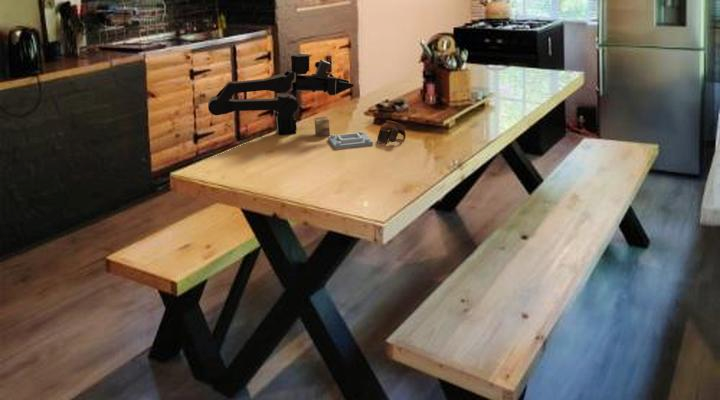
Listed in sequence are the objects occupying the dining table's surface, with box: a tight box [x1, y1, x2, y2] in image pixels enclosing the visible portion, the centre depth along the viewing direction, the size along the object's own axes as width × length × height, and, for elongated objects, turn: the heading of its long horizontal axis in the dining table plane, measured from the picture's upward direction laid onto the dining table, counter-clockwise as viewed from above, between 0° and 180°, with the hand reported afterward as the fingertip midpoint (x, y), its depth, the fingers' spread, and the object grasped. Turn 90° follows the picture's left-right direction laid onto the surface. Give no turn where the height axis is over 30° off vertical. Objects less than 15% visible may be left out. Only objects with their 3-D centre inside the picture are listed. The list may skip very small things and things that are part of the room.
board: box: [327, 131, 374, 150], centre depth 261 cm, size 13×13×2 cm
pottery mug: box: [376, 119, 407, 145], centre depth 259 cm, size 12×10×8 cm
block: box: [314, 116, 331, 138], centre depth 272 cm, size 4×4×6 cm
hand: (351, 83), depth 278 cm, fingers open, 9 cm apart
